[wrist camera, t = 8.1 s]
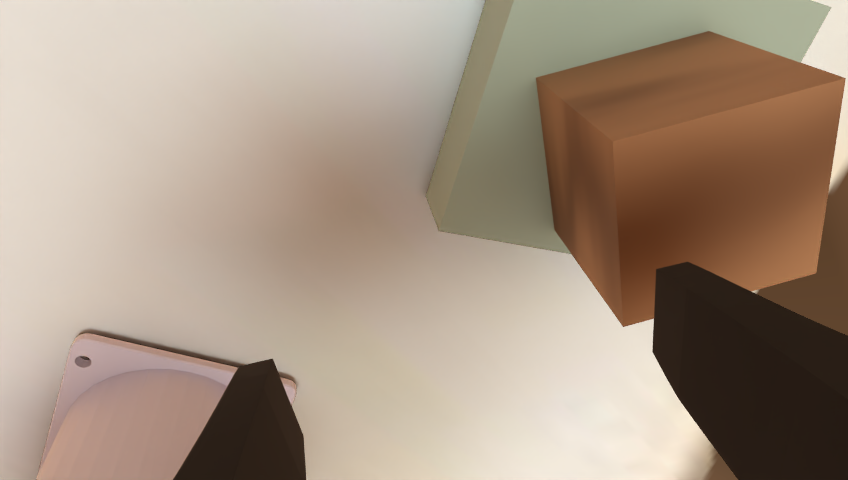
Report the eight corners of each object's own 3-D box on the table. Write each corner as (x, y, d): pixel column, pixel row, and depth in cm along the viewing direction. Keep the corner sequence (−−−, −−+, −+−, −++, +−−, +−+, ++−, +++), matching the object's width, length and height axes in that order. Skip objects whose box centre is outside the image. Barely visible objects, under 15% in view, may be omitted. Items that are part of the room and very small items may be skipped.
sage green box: (642, 231, 23) (683, 273, 21) (423, 189, 21) (438, 230, 18) (762, -9, 19) (831, 7, 17) (509, -95, 17) (543, -92, 14)
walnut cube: (704, 188, 19) (815, 272, 15) (554, 229, 19) (623, 327, 15) (709, 30, 17) (845, 78, 12) (535, 77, 17) (612, 141, 12)
